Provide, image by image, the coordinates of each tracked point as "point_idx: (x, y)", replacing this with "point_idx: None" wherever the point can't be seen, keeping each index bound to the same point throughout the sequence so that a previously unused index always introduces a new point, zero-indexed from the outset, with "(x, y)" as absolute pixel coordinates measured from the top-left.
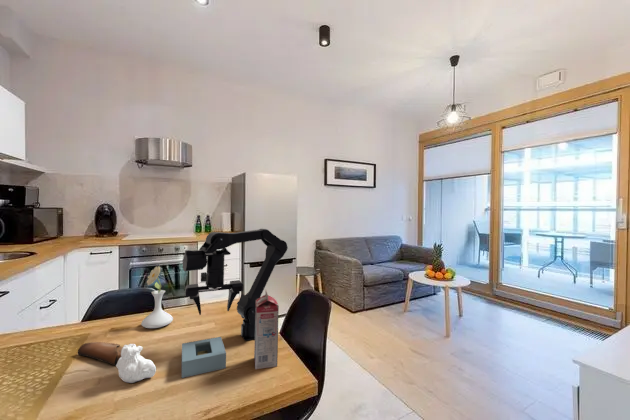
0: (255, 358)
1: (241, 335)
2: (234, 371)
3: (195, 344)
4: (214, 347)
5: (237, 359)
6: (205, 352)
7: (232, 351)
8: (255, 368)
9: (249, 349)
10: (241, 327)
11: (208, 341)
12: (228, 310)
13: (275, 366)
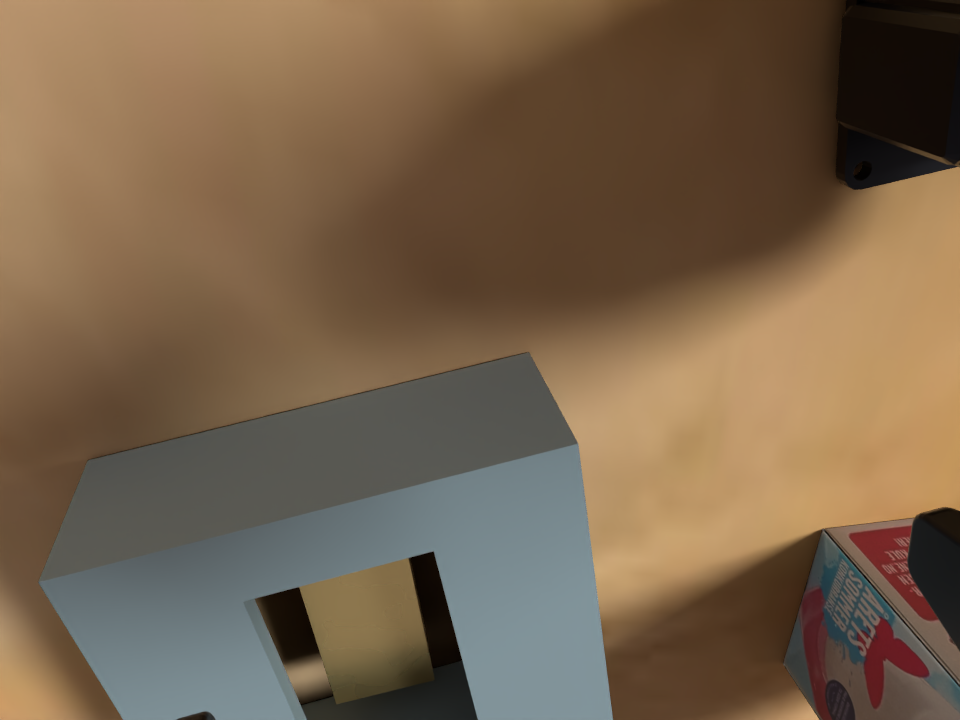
0: (829, 716)
1: (840, 55)
2: (635, 680)
3: (250, 595)
4: (503, 679)
5: (680, 540)
6: (385, 570)
7: (654, 400)
8: (786, 666)
9: (826, 383)
10: (925, 55)
11: (415, 555)
12: (937, 590)
13: (921, 641)
